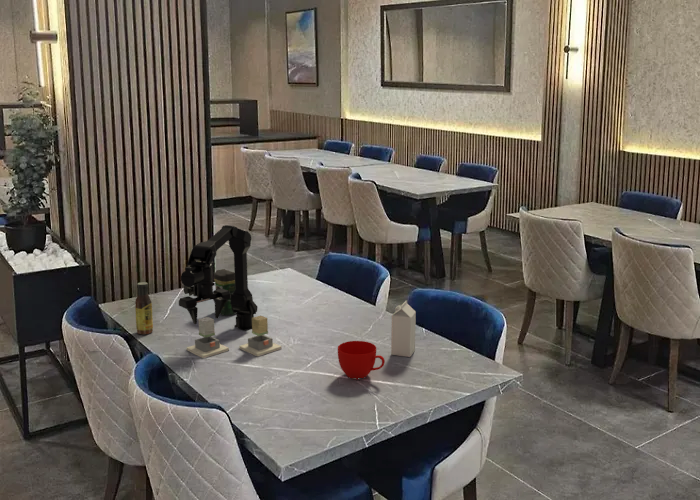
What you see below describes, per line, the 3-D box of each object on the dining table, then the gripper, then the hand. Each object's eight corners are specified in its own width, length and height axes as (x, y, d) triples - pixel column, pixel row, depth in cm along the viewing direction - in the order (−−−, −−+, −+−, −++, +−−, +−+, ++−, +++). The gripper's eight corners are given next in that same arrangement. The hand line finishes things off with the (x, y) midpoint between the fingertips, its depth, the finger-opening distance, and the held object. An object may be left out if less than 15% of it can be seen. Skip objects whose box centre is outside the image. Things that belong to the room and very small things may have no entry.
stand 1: (211, 342, 280) (211, 332, 280) (228, 350, 273) (228, 340, 272) (186, 350, 273) (185, 339, 272) (203, 358, 265) (202, 347, 264)
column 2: (261, 330, 276) (260, 315, 275) (268, 333, 273) (267, 318, 272) (251, 333, 273) (251, 317, 272) (258, 336, 270) (258, 320, 269)
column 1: (208, 332, 274) (207, 316, 273) (215, 335, 271) (214, 319, 270) (198, 334, 272) (198, 319, 270) (205, 337, 269) (204, 322, 267)
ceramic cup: (374, 389, 240) (374, 360, 238) (330, 377, 249) (330, 349, 247) (393, 375, 251) (393, 347, 249) (350, 365, 260) (350, 338, 257)
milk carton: (415, 350, 273) (416, 301, 269) (410, 357, 267) (411, 306, 262) (396, 348, 275) (397, 299, 271) (390, 355, 269) (391, 304, 264)
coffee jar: (241, 313, 314) (239, 271, 310) (225, 317, 309) (223, 274, 304) (228, 308, 321) (226, 266, 317) (212, 312, 316) (210, 269, 311)
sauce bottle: (148, 335, 288) (145, 286, 283) (133, 334, 289) (130, 285, 284) (156, 330, 294) (153, 281, 289) (141, 329, 295) (138, 280, 290)
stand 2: (263, 341, 282) (263, 331, 281) (281, 348, 274) (281, 338, 274) (239, 348, 275) (239, 338, 274) (257, 356, 267) (257, 346, 266)
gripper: (213, 270, 278) (215, 310, 282) (169, 280, 266) (171, 321, 269) (230, 276, 271) (232, 317, 274) (186, 286, 258) (188, 329, 262)
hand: (206, 321), depth 270 cm, fingers open, 9 cm apart
